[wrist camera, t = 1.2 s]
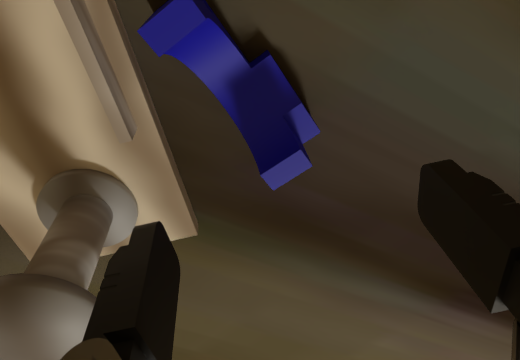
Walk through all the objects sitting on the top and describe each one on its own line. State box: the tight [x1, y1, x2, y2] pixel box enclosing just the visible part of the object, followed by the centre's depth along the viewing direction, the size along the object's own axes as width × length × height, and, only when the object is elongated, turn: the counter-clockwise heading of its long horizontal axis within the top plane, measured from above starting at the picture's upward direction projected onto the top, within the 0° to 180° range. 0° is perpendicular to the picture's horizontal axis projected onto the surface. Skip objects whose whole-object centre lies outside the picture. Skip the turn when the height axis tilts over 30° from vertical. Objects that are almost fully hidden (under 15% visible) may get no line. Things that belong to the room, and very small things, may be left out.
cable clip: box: [137, 0, 320, 190], centre depth 22 cm, size 12×4×6 cm, turn 34°
